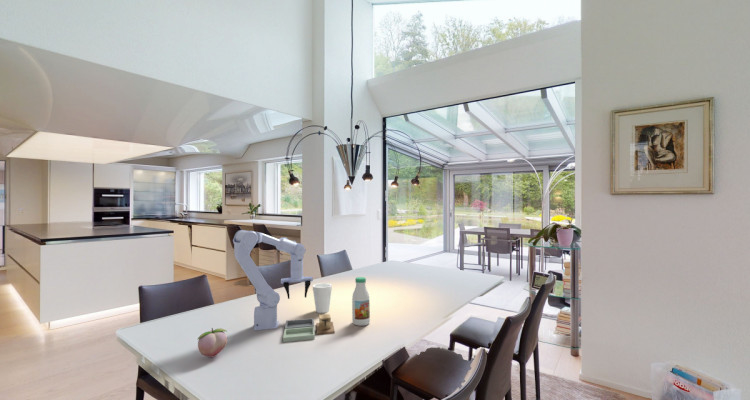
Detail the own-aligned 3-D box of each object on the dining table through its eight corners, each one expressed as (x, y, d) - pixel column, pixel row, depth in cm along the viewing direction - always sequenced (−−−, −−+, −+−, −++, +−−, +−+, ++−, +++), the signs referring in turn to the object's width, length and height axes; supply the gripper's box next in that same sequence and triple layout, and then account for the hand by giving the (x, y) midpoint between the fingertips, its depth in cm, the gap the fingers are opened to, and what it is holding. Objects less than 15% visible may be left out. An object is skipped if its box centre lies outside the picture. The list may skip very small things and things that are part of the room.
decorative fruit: (220, 348, 117) (220, 321, 117) (230, 355, 112) (230, 326, 112) (192, 358, 110) (192, 329, 110) (202, 365, 105) (202, 334, 105)
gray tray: (284, 333, 131) (284, 328, 131) (286, 325, 140) (286, 320, 140) (314, 330, 133) (314, 325, 133) (313, 322, 142) (313, 318, 142)
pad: (317, 335, 128) (317, 332, 128) (316, 325, 138) (316, 323, 138) (334, 334, 129) (334, 331, 129) (332, 324, 140) (332, 321, 140)
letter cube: (319, 329, 131) (319, 318, 131) (319, 325, 136) (319, 314, 136) (330, 328, 132) (330, 317, 132) (329, 324, 137) (329, 314, 137)
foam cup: (334, 308, 161) (333, 283, 162) (329, 315, 152) (329, 287, 152) (315, 308, 162) (315, 282, 163) (310, 314, 153) (310, 287, 153)
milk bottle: (349, 324, 139) (348, 278, 140) (358, 319, 146) (357, 275, 147) (364, 327, 136) (363, 280, 136) (372, 321, 143) (372, 276, 143)
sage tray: (283, 343, 121) (283, 337, 121) (284, 334, 130) (284, 329, 130) (314, 340, 124) (314, 334, 124) (314, 331, 132) (314, 326, 132)
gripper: (280, 271, 144) (280, 301, 143) (313, 269, 148) (313, 298, 147) (281, 268, 150) (281, 297, 150) (312, 266, 154) (312, 294, 154)
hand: (297, 297), depth 149 cm, fingers open, 7 cm apart
